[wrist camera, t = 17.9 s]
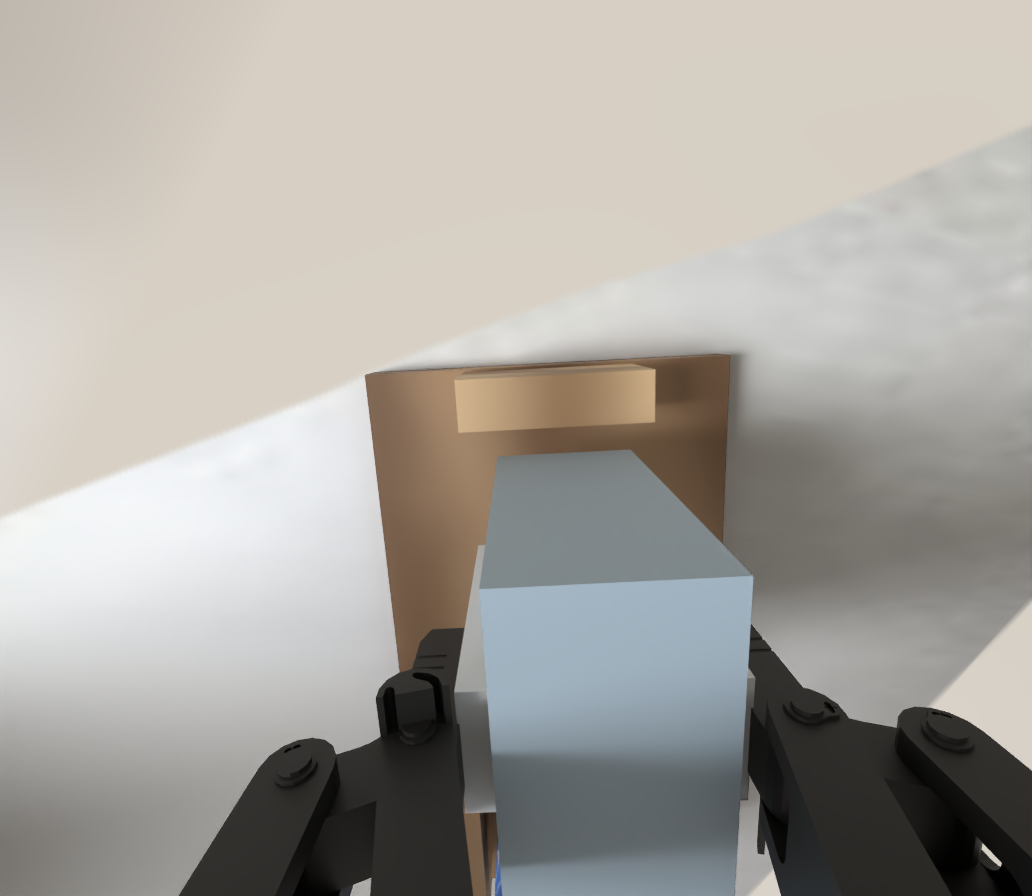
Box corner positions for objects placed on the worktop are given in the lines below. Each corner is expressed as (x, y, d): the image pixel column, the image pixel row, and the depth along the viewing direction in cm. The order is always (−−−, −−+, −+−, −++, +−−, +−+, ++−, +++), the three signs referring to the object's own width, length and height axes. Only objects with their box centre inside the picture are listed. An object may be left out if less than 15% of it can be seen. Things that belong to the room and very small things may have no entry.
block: (511, 686, 17) (509, 988, 9) (497, 456, 15) (479, 589, 7) (630, 681, 17) (729, 980, 9) (630, 449, 15) (754, 575, 7)
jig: (428, 855, 24) (411, 967, 20) (373, 372, 19) (334, 383, 15) (699, 840, 24) (740, 950, 20) (716, 354, 19) (776, 360, 15)
